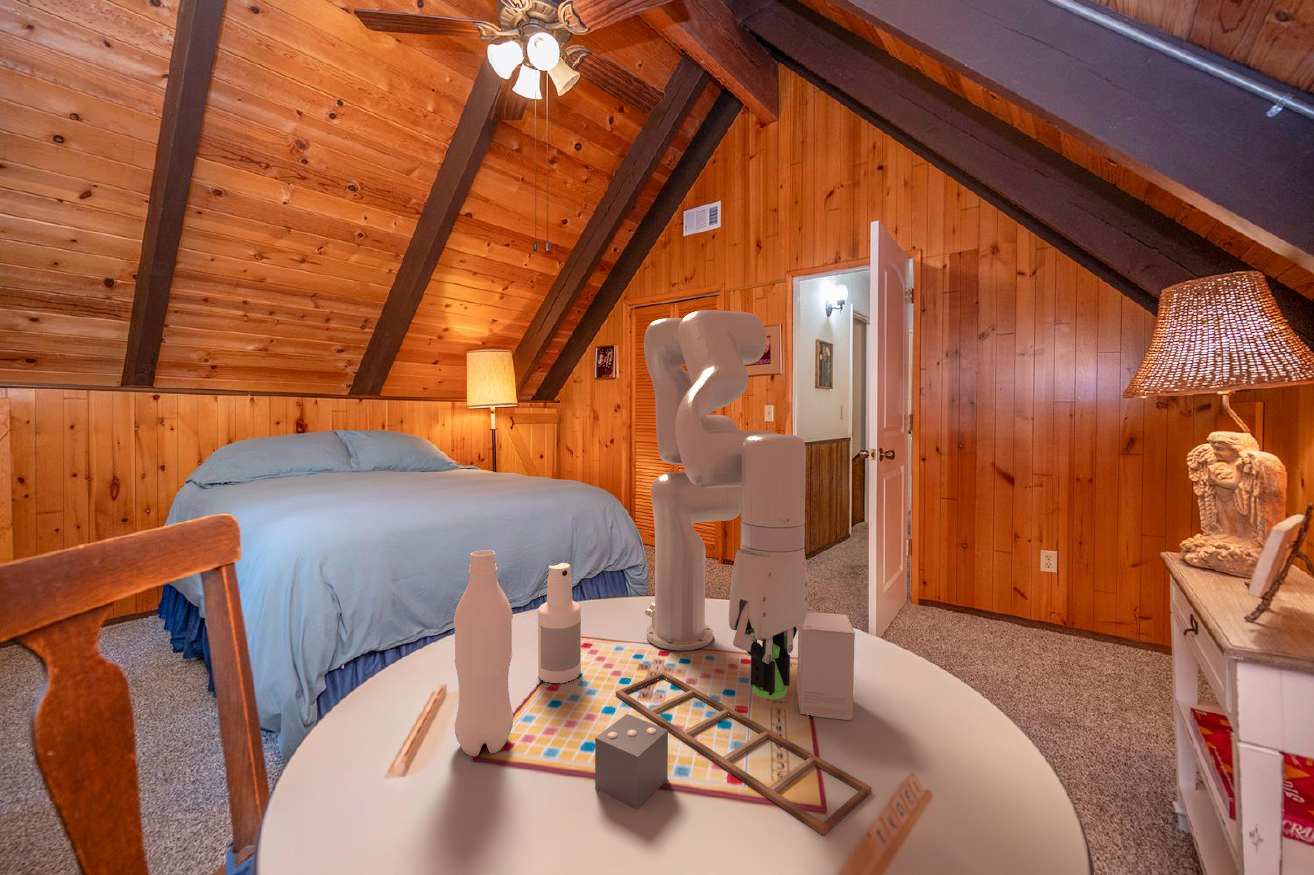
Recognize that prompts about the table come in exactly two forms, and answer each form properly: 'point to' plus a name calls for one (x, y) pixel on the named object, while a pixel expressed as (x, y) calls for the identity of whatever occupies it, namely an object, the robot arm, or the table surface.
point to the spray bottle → (559, 629)
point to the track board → (764, 734)
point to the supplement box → (826, 666)
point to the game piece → (779, 686)
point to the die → (631, 760)
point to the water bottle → (483, 659)
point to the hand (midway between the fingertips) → (769, 685)
